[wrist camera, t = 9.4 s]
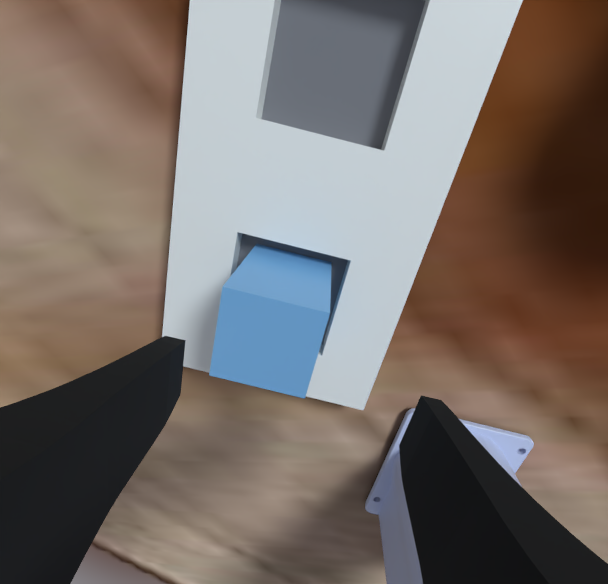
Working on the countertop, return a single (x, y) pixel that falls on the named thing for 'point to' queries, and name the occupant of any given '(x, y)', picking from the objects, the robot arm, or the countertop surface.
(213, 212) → the panel
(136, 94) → the countertop surface
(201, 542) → the countertop surface
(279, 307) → the plug
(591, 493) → the countertop surface
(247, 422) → the countertop surface
